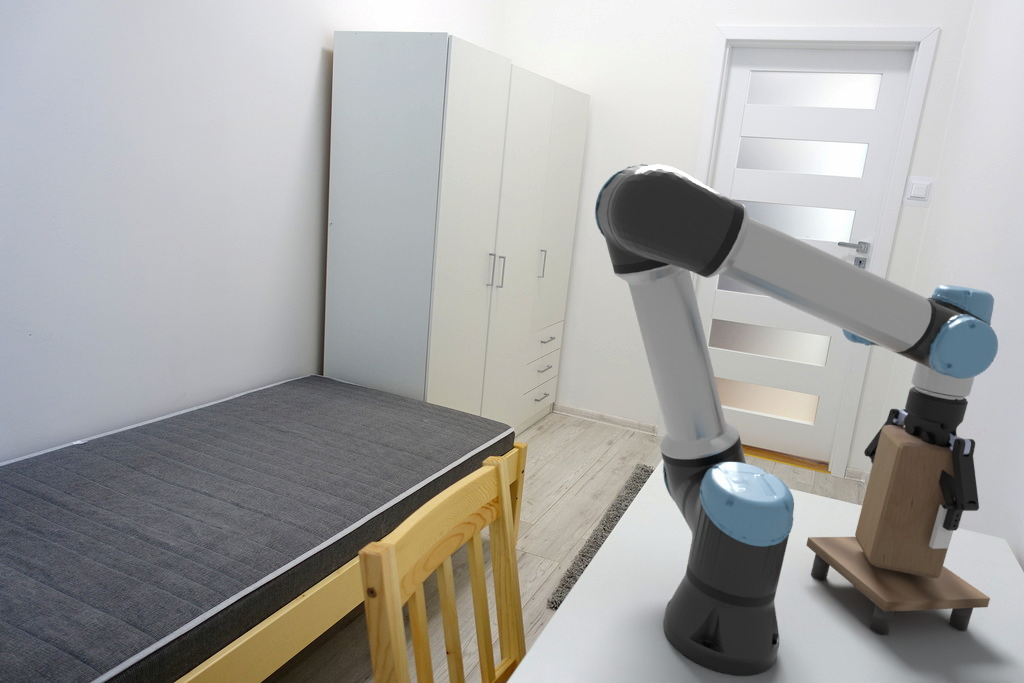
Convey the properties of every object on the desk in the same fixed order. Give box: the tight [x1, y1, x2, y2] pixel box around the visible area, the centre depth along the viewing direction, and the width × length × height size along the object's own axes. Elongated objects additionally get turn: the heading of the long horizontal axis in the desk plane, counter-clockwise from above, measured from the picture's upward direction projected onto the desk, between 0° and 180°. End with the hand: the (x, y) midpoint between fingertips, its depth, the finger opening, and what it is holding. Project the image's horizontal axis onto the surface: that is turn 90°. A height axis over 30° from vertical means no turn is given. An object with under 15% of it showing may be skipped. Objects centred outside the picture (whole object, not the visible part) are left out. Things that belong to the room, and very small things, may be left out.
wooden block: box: [854, 424, 956, 578], centre depth 108 cm, size 10×10×20 cm
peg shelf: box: [806, 536, 991, 636], centre depth 111 cm, size 18×18×6 cm
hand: (904, 524), depth 109 cm, fingers open, 13 cm apart
